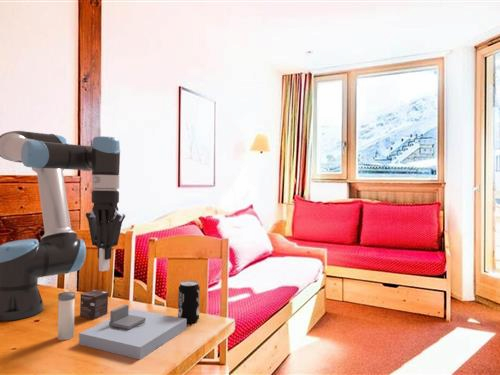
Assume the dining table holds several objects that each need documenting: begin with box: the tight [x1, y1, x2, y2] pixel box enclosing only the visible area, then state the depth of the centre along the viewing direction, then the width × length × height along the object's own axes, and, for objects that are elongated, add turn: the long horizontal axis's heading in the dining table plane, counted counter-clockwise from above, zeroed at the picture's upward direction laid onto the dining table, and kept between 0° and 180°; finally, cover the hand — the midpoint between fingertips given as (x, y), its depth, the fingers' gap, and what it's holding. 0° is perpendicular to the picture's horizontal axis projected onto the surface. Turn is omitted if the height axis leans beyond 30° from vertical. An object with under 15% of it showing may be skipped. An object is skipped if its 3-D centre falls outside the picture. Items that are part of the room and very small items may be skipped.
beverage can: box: [177, 279, 201, 325], centre depth 115 cm, size 7×7×12 cm
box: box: [79, 289, 109, 320], centre depth 118 cm, size 6×6×7 cm
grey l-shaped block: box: [109, 304, 146, 329], centre depth 103 cm, size 7×7×4 cm
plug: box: [57, 291, 76, 341], centre depth 101 cm, size 4×4×12 cm
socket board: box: [78, 308, 188, 360], centre depth 102 cm, size 20×21×3 cm
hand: (104, 270), depth 107 cm, fingers closed
